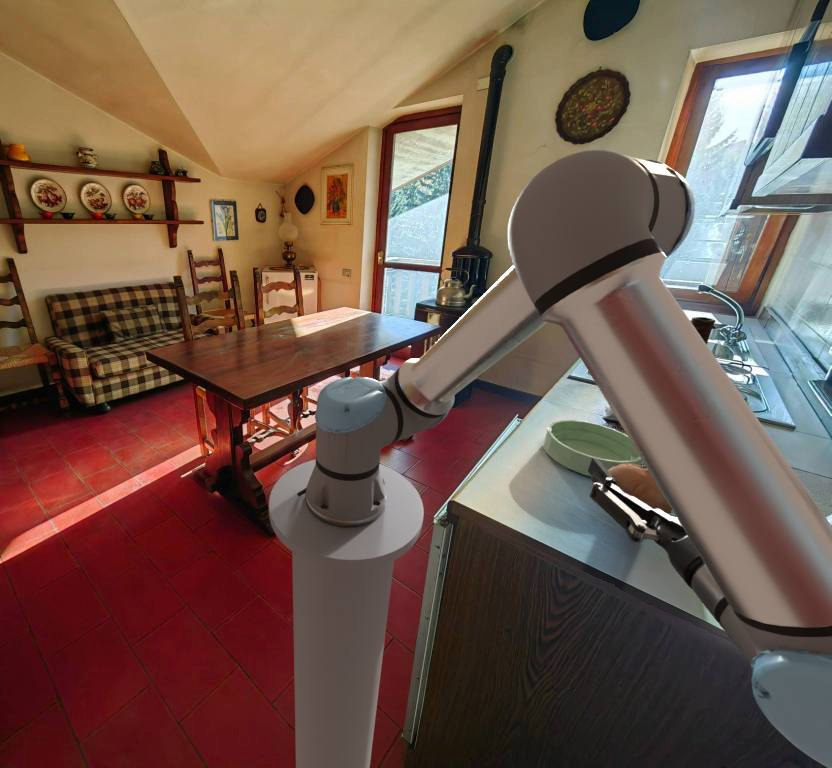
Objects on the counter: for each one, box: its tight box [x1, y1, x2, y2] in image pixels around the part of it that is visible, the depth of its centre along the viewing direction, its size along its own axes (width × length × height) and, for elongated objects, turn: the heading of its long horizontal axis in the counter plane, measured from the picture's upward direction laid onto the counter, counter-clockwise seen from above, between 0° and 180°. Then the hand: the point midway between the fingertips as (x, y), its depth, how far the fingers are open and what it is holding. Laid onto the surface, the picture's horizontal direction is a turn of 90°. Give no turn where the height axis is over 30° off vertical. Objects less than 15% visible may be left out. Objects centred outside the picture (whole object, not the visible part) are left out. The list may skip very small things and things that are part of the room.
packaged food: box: [602, 405, 623, 429], centre depth 102 cm, size 9×12×5 cm
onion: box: [608, 463, 673, 522], centre depth 63 cm, size 10×9×10 cm
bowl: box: [543, 419, 644, 477], centre depth 88 cm, size 18×18×5 cm
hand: (624, 468), depth 66 cm, fingers closed on onion, 9 cm apart
